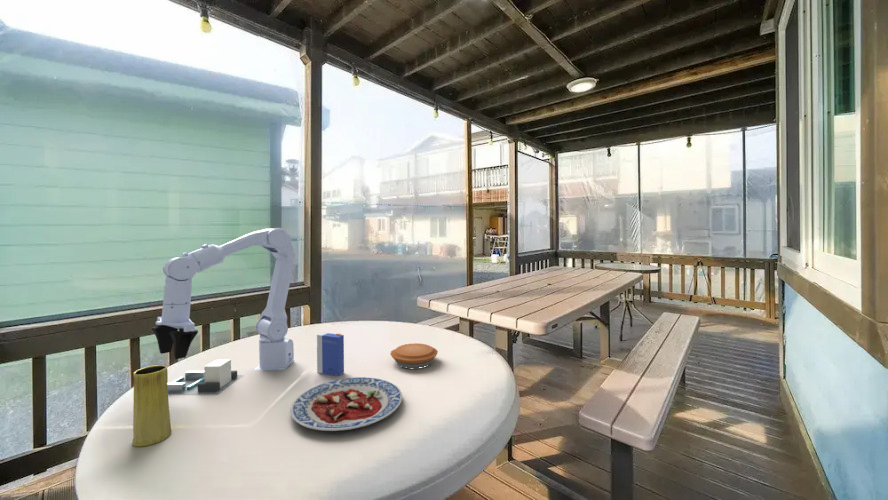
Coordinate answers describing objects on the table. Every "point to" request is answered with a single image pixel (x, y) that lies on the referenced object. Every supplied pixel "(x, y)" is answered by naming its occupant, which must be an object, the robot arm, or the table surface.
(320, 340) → the walkman
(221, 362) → the plug
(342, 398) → the ceramic plate
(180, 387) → the port
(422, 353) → the pie
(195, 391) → the panel
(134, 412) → the vase
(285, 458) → the table surface
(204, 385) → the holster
